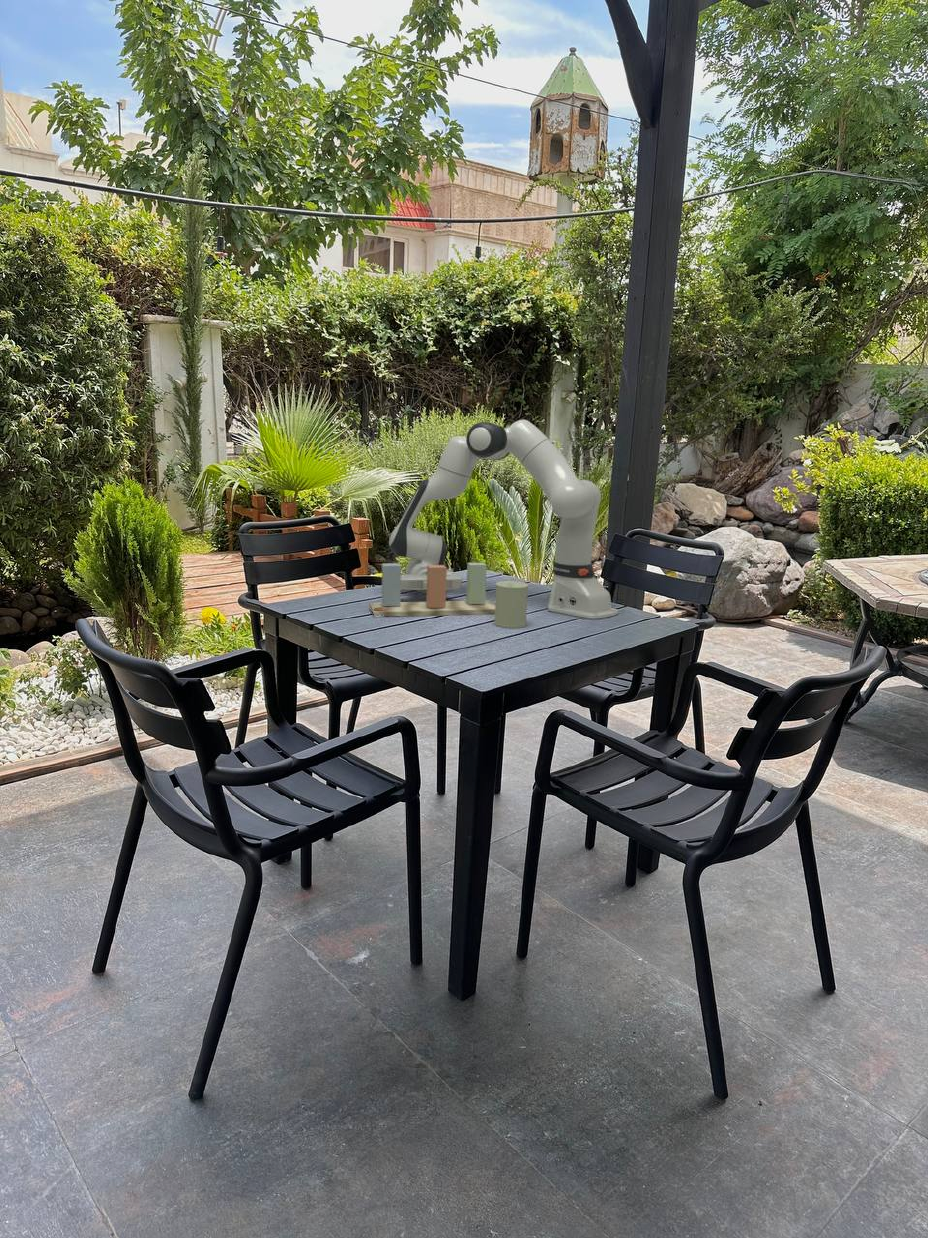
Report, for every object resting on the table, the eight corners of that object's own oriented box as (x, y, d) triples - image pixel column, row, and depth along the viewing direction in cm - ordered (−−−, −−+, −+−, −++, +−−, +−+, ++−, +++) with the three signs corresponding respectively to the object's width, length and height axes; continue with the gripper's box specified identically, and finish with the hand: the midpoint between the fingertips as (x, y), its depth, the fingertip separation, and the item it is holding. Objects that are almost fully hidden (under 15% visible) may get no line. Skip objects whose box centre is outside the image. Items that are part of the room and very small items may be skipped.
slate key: (398, 602, 239) (398, 563, 236) (400, 605, 235) (400, 565, 232) (381, 603, 237) (382, 563, 234) (383, 606, 234) (383, 566, 231)
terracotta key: (442, 604, 238) (443, 565, 235) (445, 607, 234) (446, 567, 232) (426, 604, 237) (427, 565, 234) (428, 607, 233) (429, 567, 230)
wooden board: (491, 604, 248) (491, 598, 247) (501, 614, 236) (501, 607, 236) (369, 607, 239) (369, 601, 238) (374, 617, 228) (374, 610, 227)
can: (490, 626, 222) (491, 584, 219) (498, 618, 231) (500, 578, 228) (522, 629, 220) (524, 587, 217) (529, 621, 228) (531, 581, 225)
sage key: (481, 600, 244) (483, 562, 242) (485, 603, 241) (486, 564, 238) (466, 601, 243) (467, 562, 240) (469, 604, 240) (470, 565, 237)
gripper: (392, 569, 248) (399, 577, 235) (456, 568, 253) (466, 576, 240) (392, 588, 250) (399, 598, 237) (455, 587, 254) (465, 597, 241)
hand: (433, 587), depth 238 cm, fingers closed
